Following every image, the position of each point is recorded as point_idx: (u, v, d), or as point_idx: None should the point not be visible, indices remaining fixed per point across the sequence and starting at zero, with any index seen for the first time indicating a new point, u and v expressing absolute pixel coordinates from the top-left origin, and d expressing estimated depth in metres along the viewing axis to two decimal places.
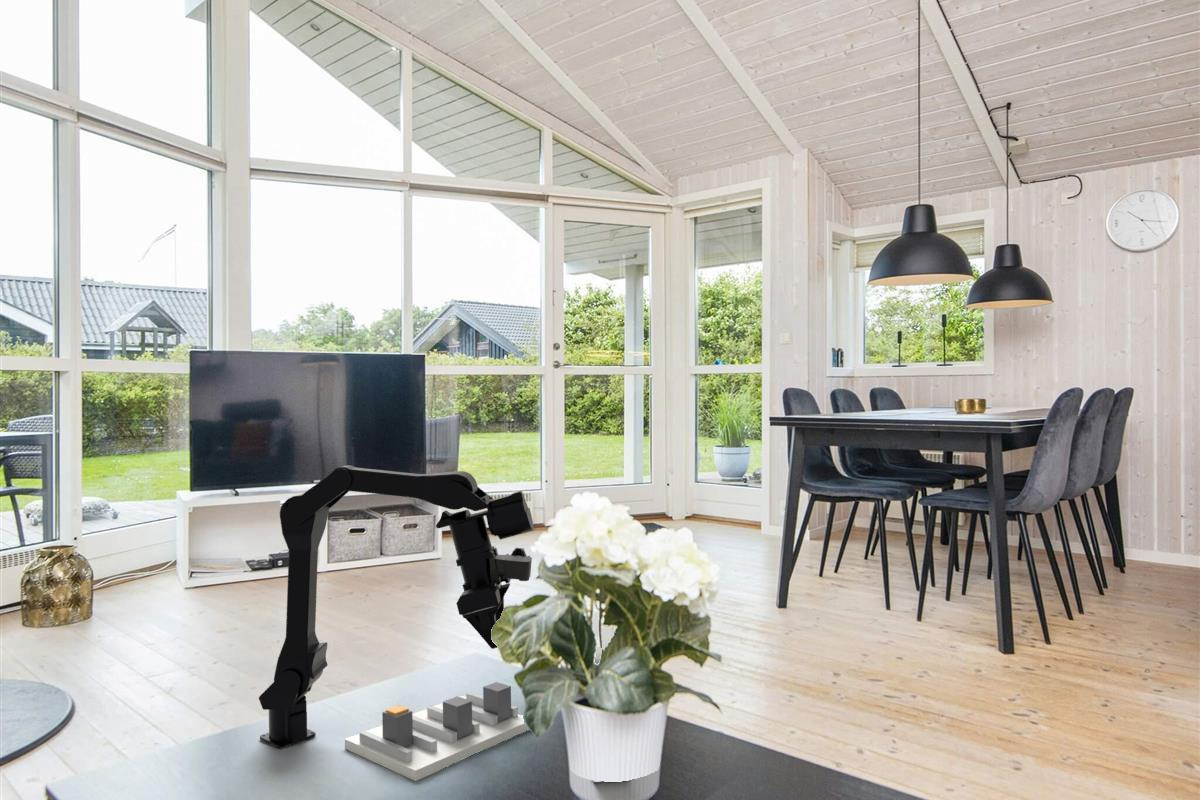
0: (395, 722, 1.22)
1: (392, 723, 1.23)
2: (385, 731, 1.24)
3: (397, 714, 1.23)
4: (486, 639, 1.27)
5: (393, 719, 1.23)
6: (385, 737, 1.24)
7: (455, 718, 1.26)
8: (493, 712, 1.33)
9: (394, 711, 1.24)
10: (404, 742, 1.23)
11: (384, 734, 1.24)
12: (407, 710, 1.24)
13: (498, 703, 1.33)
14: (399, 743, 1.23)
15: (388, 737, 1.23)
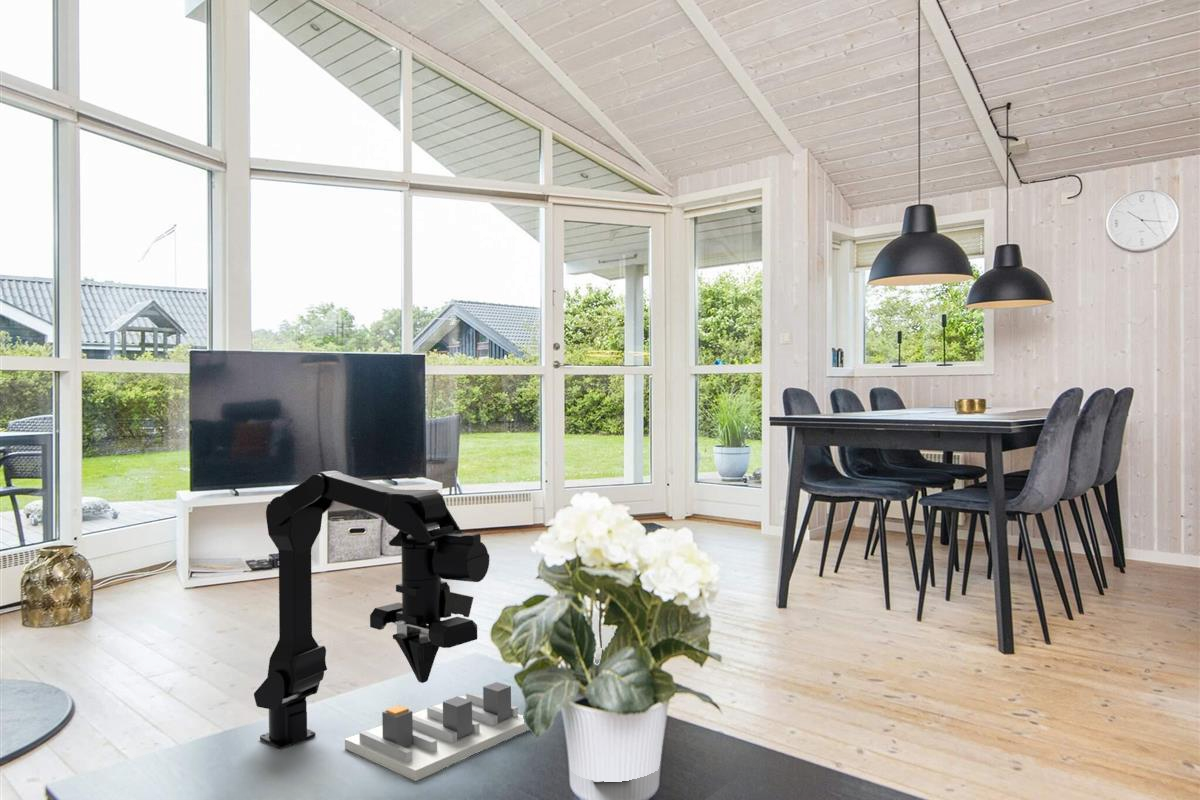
0: (395, 722, 1.22)
1: (392, 723, 1.23)
2: (385, 731, 1.24)
3: (397, 714, 1.23)
4: (422, 672, 1.19)
5: (393, 719, 1.23)
6: (385, 737, 1.24)
7: (455, 718, 1.26)
8: (493, 712, 1.33)
9: (394, 711, 1.24)
10: (404, 742, 1.23)
11: (384, 734, 1.24)
12: (407, 710, 1.24)
13: (498, 703, 1.33)
14: (399, 743, 1.23)
15: (388, 737, 1.23)
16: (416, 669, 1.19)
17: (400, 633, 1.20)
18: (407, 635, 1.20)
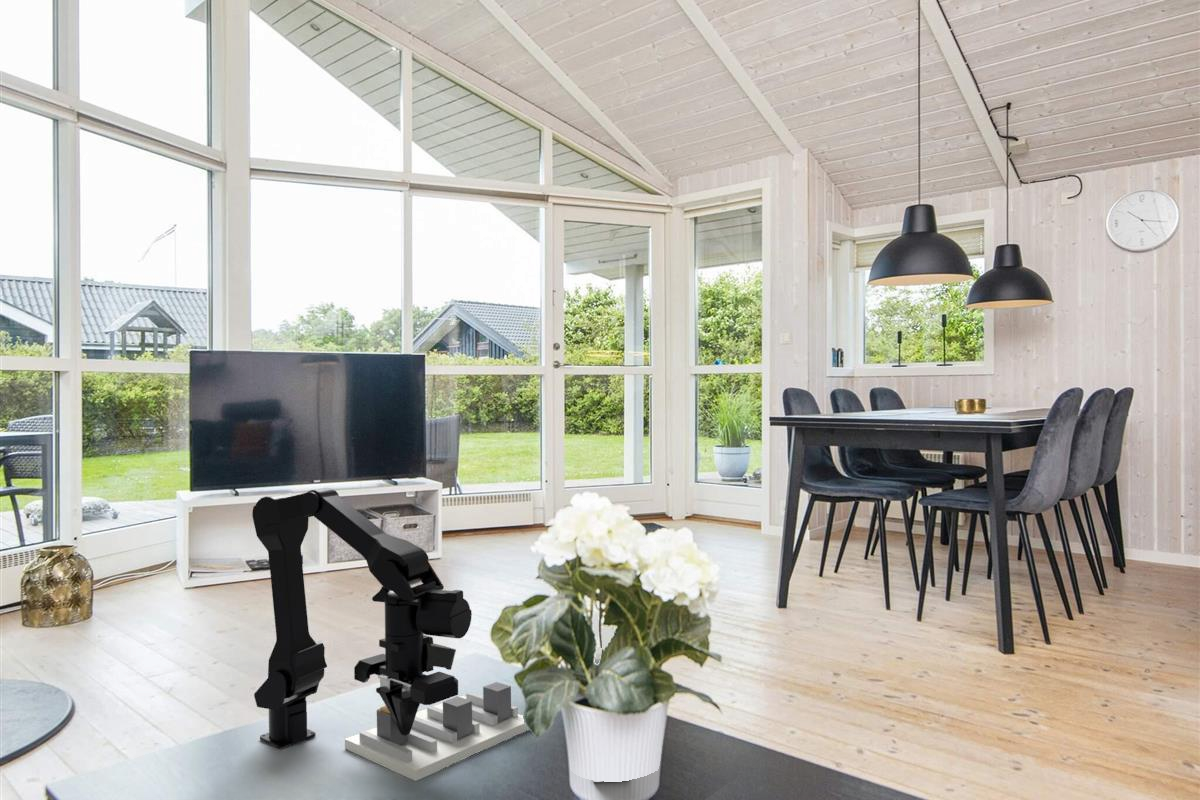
0: (390, 719, 1.23)
1: (386, 721, 1.24)
2: (379, 729, 1.25)
3: None
4: (404, 725, 1.22)
5: (387, 717, 1.24)
6: (379, 735, 1.25)
7: (455, 718, 1.26)
8: (493, 712, 1.33)
9: None
10: (398, 740, 1.24)
11: (378, 732, 1.25)
12: None
13: (498, 703, 1.33)
14: (393, 741, 1.24)
15: (382, 735, 1.24)
16: (398, 722, 1.22)
17: (383, 687, 1.23)
18: (390, 689, 1.22)
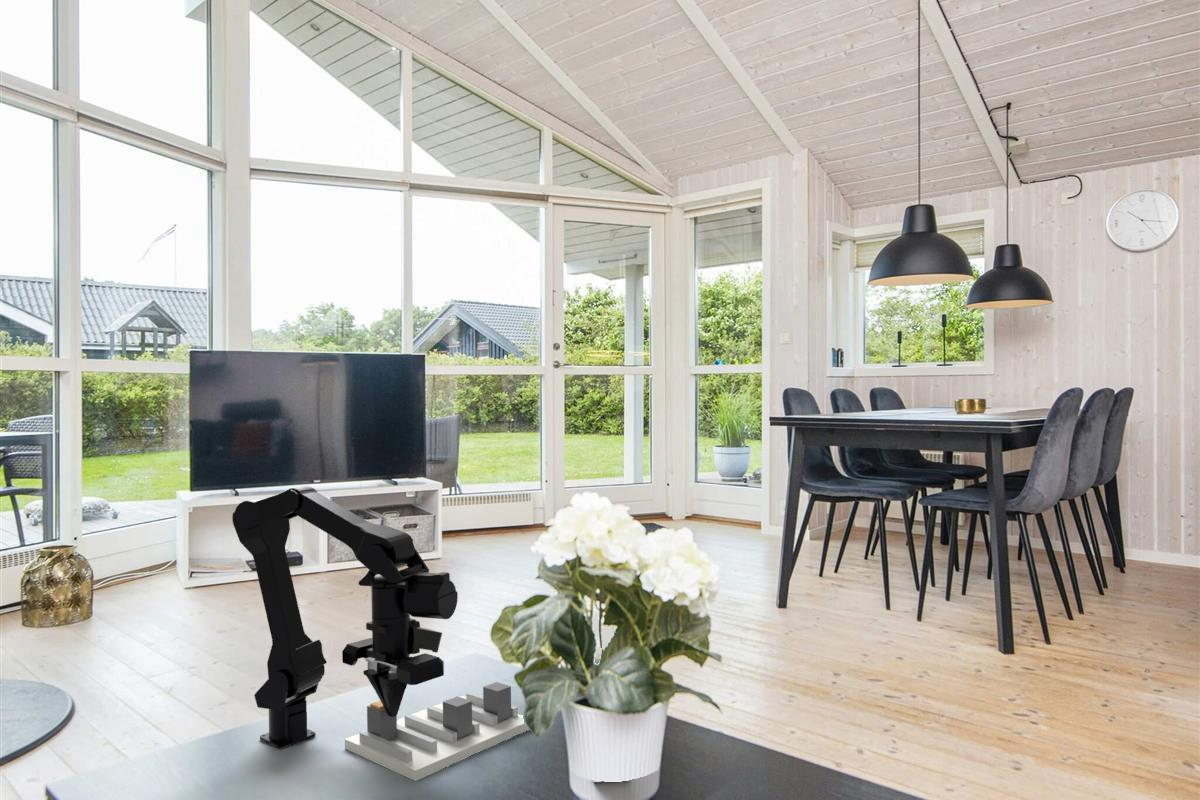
0: (380, 715, 1.25)
1: (376, 717, 1.25)
2: (370, 725, 1.27)
3: (381, 708, 1.26)
4: (391, 706, 1.24)
5: (377, 713, 1.25)
6: (370, 731, 1.27)
7: (455, 718, 1.26)
8: (493, 712, 1.33)
9: (378, 705, 1.26)
10: (388, 735, 1.26)
11: (369, 728, 1.27)
12: None
13: (498, 703, 1.33)
14: (383, 736, 1.25)
15: (372, 730, 1.26)
16: (386, 704, 1.24)
17: (370, 669, 1.25)
18: (377, 671, 1.25)
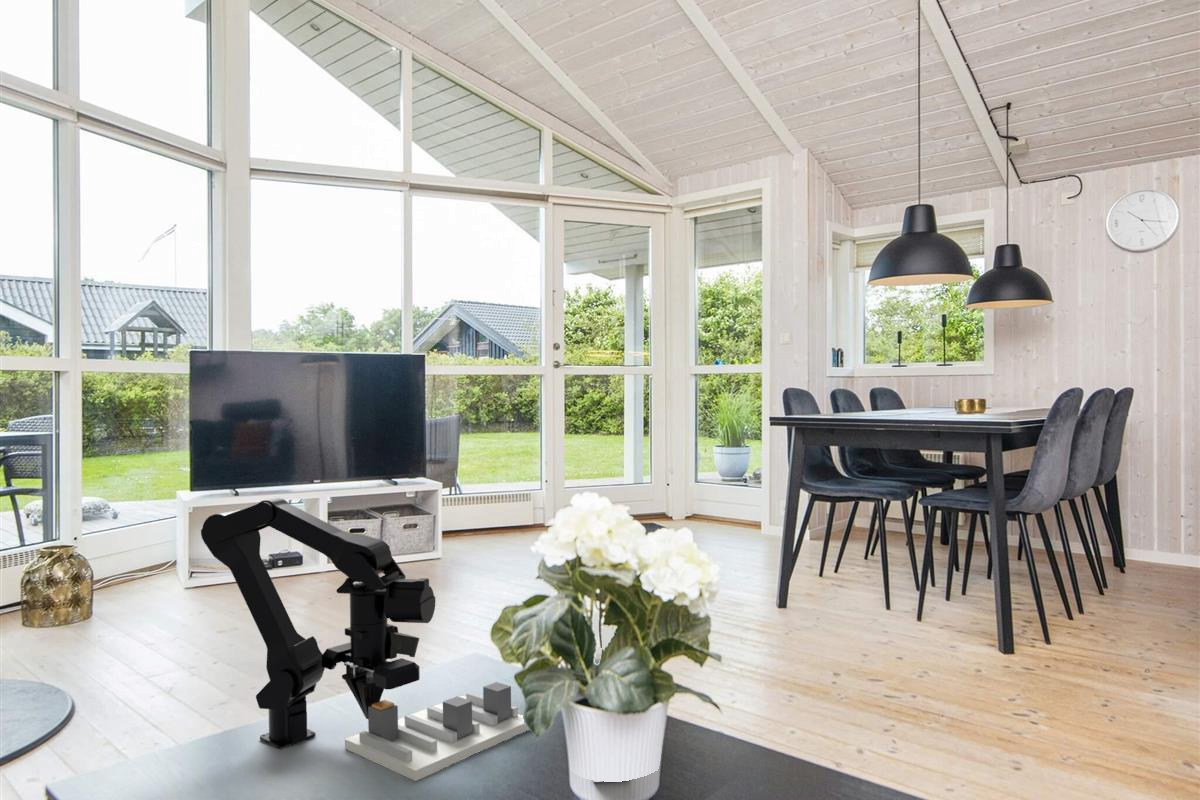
0: (381, 716, 1.25)
1: (377, 718, 1.25)
2: (371, 725, 1.26)
3: (382, 708, 1.25)
4: None
5: (379, 713, 1.25)
6: (371, 731, 1.26)
7: (455, 718, 1.26)
8: (493, 712, 1.33)
9: (380, 705, 1.26)
10: (389, 736, 1.26)
11: (370, 728, 1.26)
12: (392, 705, 1.27)
13: (498, 703, 1.33)
14: (384, 737, 1.25)
15: (374, 731, 1.26)
16: (363, 707, 1.28)
17: (349, 673, 1.29)
18: (355, 675, 1.28)
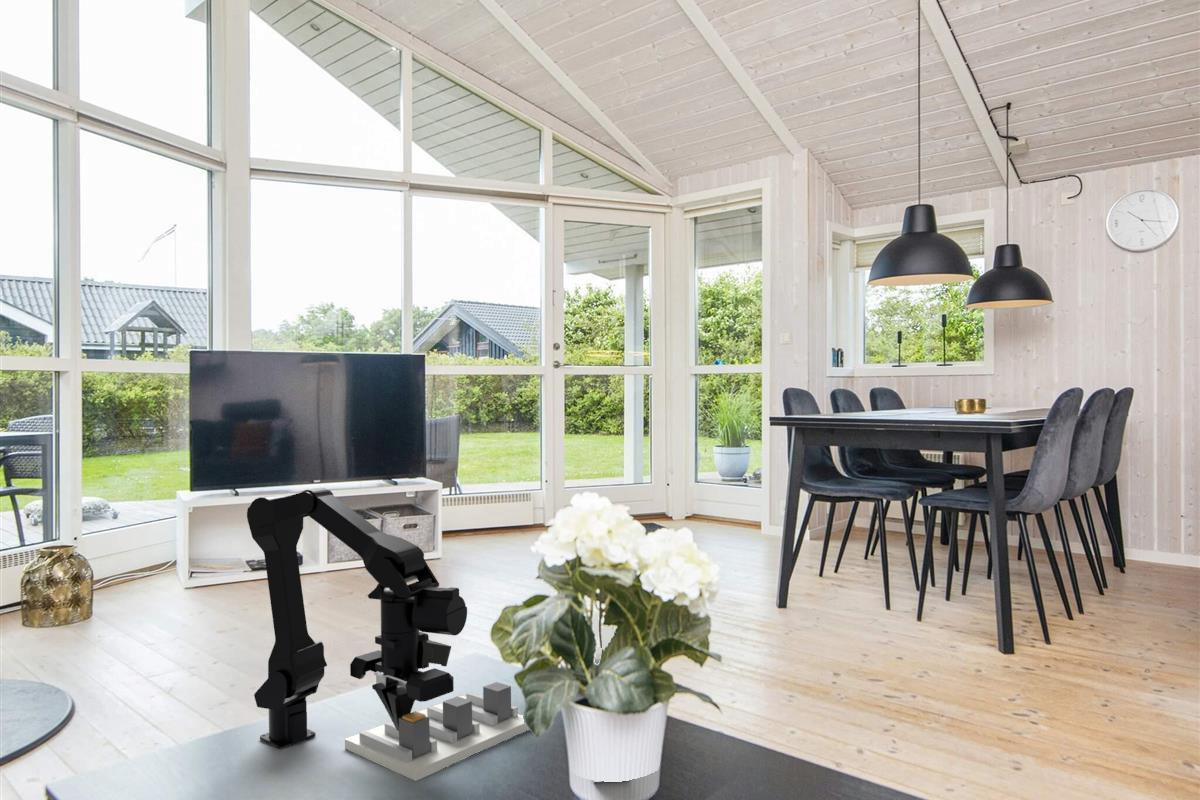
0: (412, 728, 1.20)
1: (409, 730, 1.20)
2: (401, 738, 1.21)
3: (414, 720, 1.20)
4: None
5: (410, 726, 1.20)
6: (401, 744, 1.21)
7: (455, 718, 1.26)
8: (493, 712, 1.33)
9: (411, 717, 1.21)
10: (421, 749, 1.21)
11: (400, 741, 1.21)
12: (424, 716, 1.22)
13: (498, 703, 1.33)
14: (416, 750, 1.20)
15: (405, 744, 1.21)
16: (394, 718, 1.23)
17: (379, 683, 1.24)
18: (386, 685, 1.23)
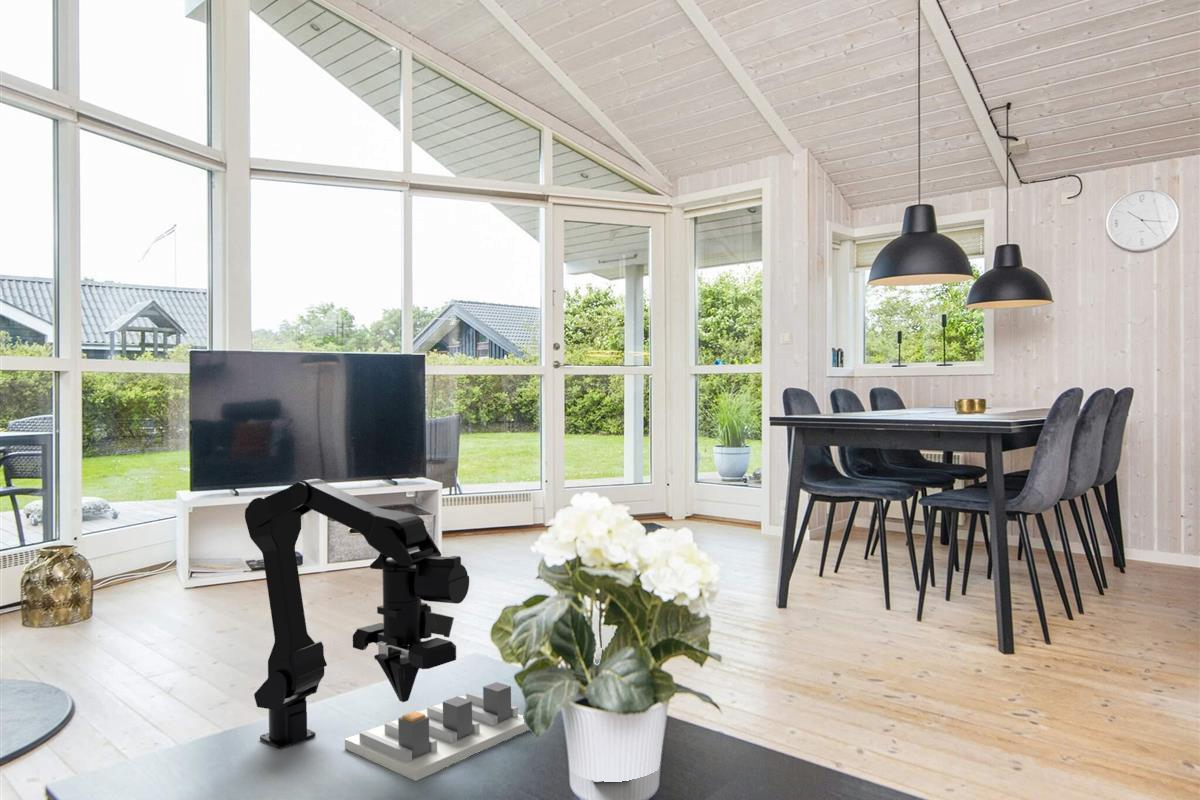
0: (412, 728, 1.20)
1: (408, 730, 1.20)
2: (401, 738, 1.21)
3: (414, 720, 1.20)
4: (403, 691, 1.22)
5: (410, 726, 1.20)
6: (401, 744, 1.21)
7: (455, 718, 1.26)
8: (493, 712, 1.33)
9: (410, 717, 1.21)
10: (420, 749, 1.21)
11: (400, 741, 1.21)
12: (424, 716, 1.22)
13: (498, 703, 1.33)
14: (416, 750, 1.20)
15: (404, 744, 1.21)
16: (397, 689, 1.22)
17: (381, 654, 1.24)
18: (388, 656, 1.23)
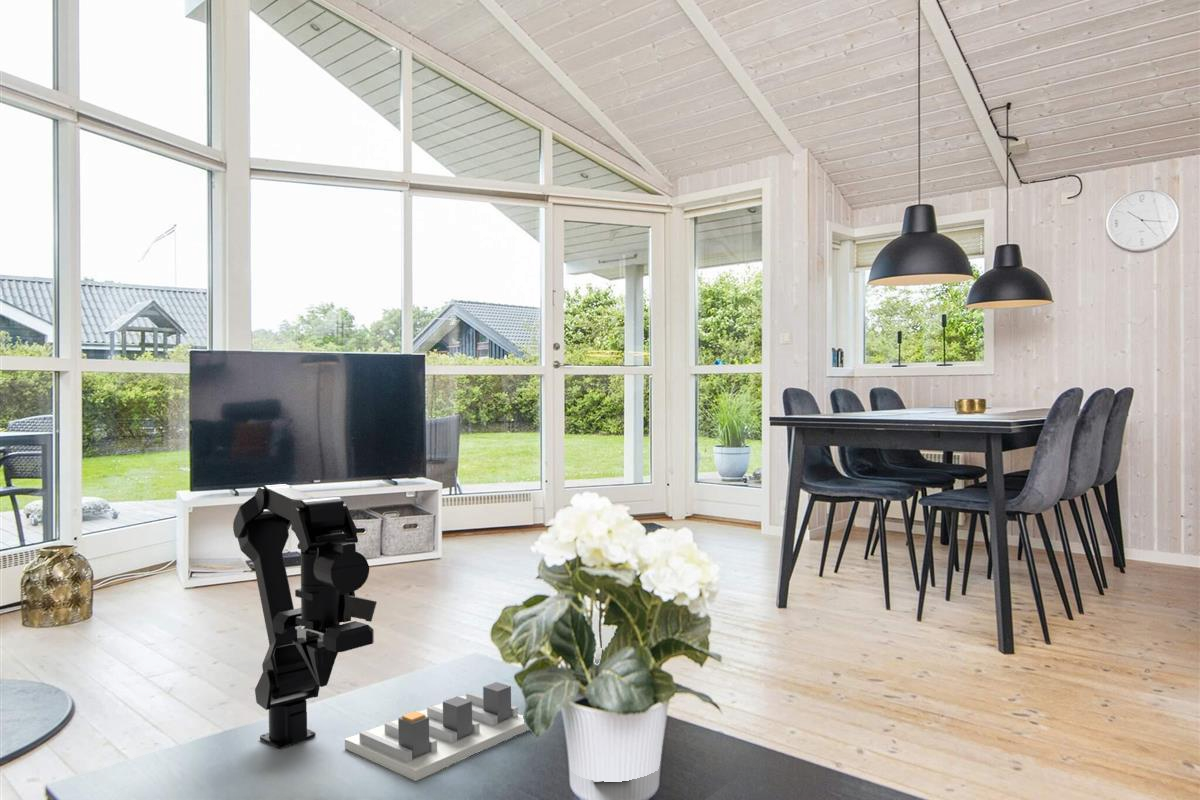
0: (412, 728, 1.20)
1: (408, 730, 1.20)
2: (401, 738, 1.21)
3: (414, 720, 1.20)
4: (320, 676, 1.20)
5: (410, 726, 1.20)
6: (401, 744, 1.21)
7: (455, 718, 1.26)
8: (493, 712, 1.33)
9: (410, 717, 1.21)
10: (420, 749, 1.21)
11: (400, 741, 1.21)
12: (424, 716, 1.22)
13: (498, 703, 1.33)
14: (416, 750, 1.20)
15: (404, 744, 1.21)
16: (315, 673, 1.20)
17: (300, 637, 1.21)
18: (306, 639, 1.21)
